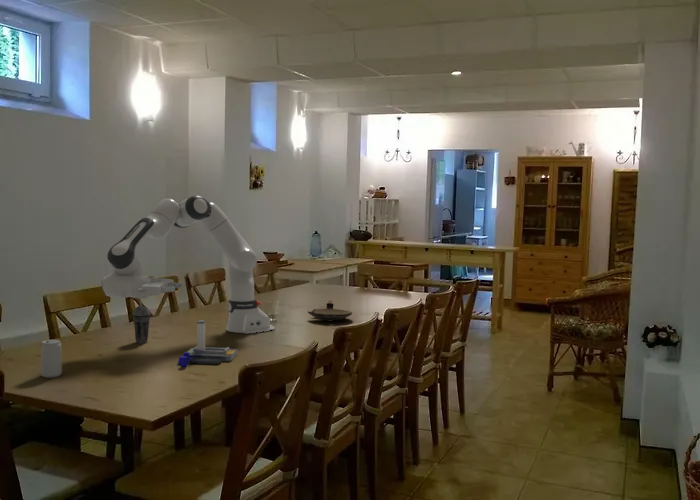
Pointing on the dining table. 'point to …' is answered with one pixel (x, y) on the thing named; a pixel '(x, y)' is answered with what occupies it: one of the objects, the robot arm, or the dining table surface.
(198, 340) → the knob
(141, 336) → the beverage cup
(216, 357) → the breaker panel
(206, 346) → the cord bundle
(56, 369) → the beverage can
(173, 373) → the dining table surface
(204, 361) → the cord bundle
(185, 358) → the cable holder
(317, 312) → the oil lamp
